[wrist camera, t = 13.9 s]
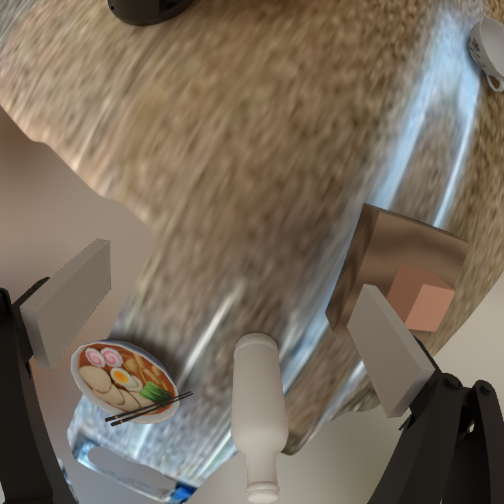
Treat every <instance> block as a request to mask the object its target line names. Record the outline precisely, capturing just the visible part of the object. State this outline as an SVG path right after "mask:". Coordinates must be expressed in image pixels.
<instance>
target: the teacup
mask: <svg viewBox="0 0 504 504" xmlns="http://www.w3.org/2000/svg"><path fill="white" fill-rule="evenodd" d="M468 49H469V52H470V54H471V56H472V58H473V60H474V62H475V63H476V64H477V65H478V66H479V67H480V68H481V69H482V70H484V72H485V73H486V76H487V80H488V83H489V86H490V87H491V88H492V90H493V91H495V92H502V91H503V90H504V81H503V80H504V25H503V24H502V23H501V22H499V21H497V20H495V19H493V18H490V17H487V18H483V19H481V20H480V21H479V22H477V23H476V24H475V25H474V27H473V28H472V30H471V32H470V35H469V45H468ZM489 76H493V77H495V79H497V80H498V81H499V83H500V86H499V88H498V89H495V87H494V86H493V84H492V82H491V79H490V77H489Z"/></svg>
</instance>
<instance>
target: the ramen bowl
mask: <svg viewBox="0 0 504 504" xmlns="http://www.w3.org/2000/svg"><path fill="white" fill-rule="evenodd" d="M71 373H72V375H73V377H74V379H75V382H76V384H77V386H78V387H79V388H80V390H81V391H82V392H83V393H84V394H85V395H86V397H87V398H88V399H89V400H90V401H91V402H93V403H94V404H95V405H97V406H98V407H100V408H101V409H102V410H104V411H105V412H107V413H109V414H111V415H114V416H112V417H108V418H105V421H106V422H108V421H111V420H114V419H117V418H120V419H122V420H119V421H116V422H113V423H111V426H115V425H118V424H121V423H123V422H126V421H130V422H136V423H142V424H150V423H161V422H163V421H165V420H167V419H169V418H170V417H172V416H174V415H175V413H176V411H177V409H178V407H179V405H180V401H179V400H181V399H183V398H185V397H188V396H190V395H192V394H193V393H192V394H189V395H187V396H184V397H182V398H179V397H180V396H183V395H185V394H188V393H190V392H191V391H190V392H188V393H185V394H182V395H179V396H178V391H177V387H176V385H175V382H174V381H173V379H172V377H171V376H170V375H169V373H168V372H167V370H166V369H165V367H164V366H163V365H162V363H161V362H160V361H159V360H158V359H156V358H155V357H154V356H152V355H151V354H150V353H149V352H147V351H146V350H145V349H143V348H140V347H138V346H136V345H133V344H131V343H129V342H124V341H116V340H108V339H105V340H99V341H96V342H92V343H88V344H84V345H81V346H80V347H79V348H78V349H77V350H76V352H75V353H74V354H73V355H72V357H71Z"/></svg>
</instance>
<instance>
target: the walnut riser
mask: <svg viewBox="0 0 504 504" xmlns="http://www.w3.org/2000/svg"><path fill="white" fill-rule="evenodd" d="M469 247H470V244H469V243H468V242H466V241H464V240H462V239H461V238H459V237H457V236H455V235H454V234H452V233H449V232H447V231H444V230H442V229H439V228H436V227H434V226H431V225H428V224H425V223H423V222H420V221H417V220H414V219H411V218H409V217H406V216H403V215H400V214H397V213H394V212H391V211H388V210H385V209H382V208H379V207H376V206H372V205H369V204H366V203H364V204H363V207H362V211H361V214H360V217H359V220H358V223H357V226H356V229H355V233H354V236H353V239H352V241H351V244H350V247H349V250H348V253H347V256H346V259H345V262H344V264H343V267H342V270H341V273H340V275H339V278H338V281H337V283H336V286H335V289H334V291H333V294H332V297H331V299H330V302H329V304H328V307H327V309H326V312H325V314H326V316H327V319H328V321H329V323H330V326H331V328H332V331H333V333H339V334H347V335H350V332H349V330H348V328H347V324H348V322H349V320H350V317H351V315H352V312H353V310H354V308H355V305H356V303H357V300H358V297H359V295H360V292H361V290H362V287H363V284H368V285H374V286H376V287H377V288H378V289H379V291H380V292H381V293H382V295H383V296H384V297H385V299H386V298H387V295H388V293H389V291H390V288H391V286H392V284H393V281H394V279H395V276H396V274H397V272H398V269H399V267H400V264H405V265H409V266H413V267H417V268H421V269H425V270H428V271H432V272H434V273H435V274H436V275H437V276H439V277H440V278H441V279H442V280H443V281H445V282H446V283H447V284H448V285H449V286H450V287H452V288H453V286H454V284H455V281H456V279H457V277H458V274H459V272H460V270H461V267H462V265H463V262H464V260H465V257H466V255H467V252H468V249H469ZM408 330H409V331H410V333H411V334H412V335H414V336H415V337H416V338H418V339H419V340H420V341H421V342H425V341H426V339H427V338H428V336H429V334H430V332H431V331H423V330H414V329H408Z"/></svg>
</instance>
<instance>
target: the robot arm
mask: <svg viewBox="0 0 504 504" xmlns="http://www.w3.org/2000/svg"><path fill="white" fill-rule="evenodd" d="M193 1H194V0H108V5H109V8H110V9H111V11H112V12H113V14H114V15H116V16H117V17H118V18H119V19H120V20H122V21H123V22H125V23H128V24H132V25H151V24H156V23H160V22H163V21H165V20H168V19H170V18H172V17H174V16H176V15H178V14H179V13H181V12H182V11H183V10H185V9H186V8H187V7H188V6H189V5H190V4H191V3H192V2H193ZM110 289H111V275H110V241H109V240H103V239H98V238H97V239H96V240H95V241H93V242H92V243H91V244H90V245H88V247H86V248H85V249H84V250H82V251H81V252H80V253H79V254H77V255H76V256H75V257H74V258H73V259H72V260H70V261H69V262H68V263H67V264H66V265H65V266H63V267H62V268H61V269H60V270H59V271H58V272H57V273H55V274H54V275H53V276H52V277H51V278H50V277H46V278H44V279H41V280H39V281H38V282H36V283H35V284H34V285H33V286H32V287H31V288H30V289H29V290H28V291H26V293H24V294H23V295H22V296H21V297H20V298H19V299H18V300H17V301H16V302H14V303H13V304H12V305H11V300H10V297H9V293H8V291H7V290H6V289H4V288H0V482H1V485H2V489H3V492H4V496H5V502H4V503H3V504H77V503H76V501H75V499H74V497H73V495H72V493H71V491H70V489H69V487H68V485H67V482H66V480H65V478H64V475H63V473H62V471H61V468H60V466H59V463H58V461H57V458H56V456H55V453H54V451H53V448H52V445H51V442H50V439H49V436H48V433H47V430H46V427H45V423H44V420H43V417H42V413H41V409H40V406H39V402H38V398H37V394H36V390H35V385H34V380H33V376H32V371H31V366H30V363H29V359H30V358H31V357H32V355H34V358H35V361H36V364H37V365H38V366H40V367H42V368H44V369H47V370H49V371H53V369H54V368H55V366H56V365H57V363H58V362H59V360H60V359H61V357H62V356H63V354H64V353H65V351H66V349H67V348H68V347H69V345H70V344H71V342H72V341H73V339H74V338H75V337H76V335H77V334H78V332H79V331H80V329H81V328H82V326H83V325H84V324H85V322H86V321H87V320H88V318H89V317H90V316H91V314H92V313H93V312H94V310H95V309H96V307H97V306H98V305H99V303H100V302H101V301H102V299H103V298H104V297H105V295H106V294H107V293H108V291H109V290H110ZM347 328H348V330H349V332H350V335H351V337H352V339H353V341H354V343H355V345H356V348H357V350H358V352H359V354H360V356H361V359H362V361H363V363H364V365H365V367H366V370H367V372H368V374H369V376H370V379H371V381H372V383H373V386H374V388H375V390H376V393H377V395H378V397H379V400H380V402H381V404H382V407H383V409H384V411H385V414H386V416H387V418H392V417H401V416H402V415H403V414H404V413H405V411H406V410H407V409H408V407H409V408H410V410H411V412H412V414H411V415H410V416H409V417H408V418H407V420H406V421H405V422H404V423H403V425H402V426H401V427H400V428H399V430H401V429H402V428H403V427H404V429H403V431H402V434H401V436H400V439H399V441H398V444H397V446H396V448H395V450H394V453H393V455H392V457H391V460H390V462H389V463H388V466H387V468H386V470H385V472H384V474H383V476H382V478H381V480H380V482H379V484H378V485H377V487H376V489H375V491H374V493H373V495H372V496H371V498H370V500H369V502H368V503H367V504H440V502H441V499H442V504H504V422H503V417H502V413H501V409H500V406H499V402H498V399H497V395H496V392H495V390H494V388H493V387H492V385H491V384H490V383H488V382H486V381H484V380H478V381H476V383H475V384H474V385H473V387H472V388H467V387H463V385H462V383H461V382H460V380H459V379H458V378H457V377H455V376H454V375H452V374H449V373H442V372H441V370H440V369H439V367H438V366H437V364H436V363H435V361H434V360H433V358H432V357H431V355H430V354H429V352H428V351H427V350H426V348H425V347H424V345H423V344H422V342H421V341H420V340H419V339H418V338H416V337H415V336H414V335H412V334H411V333H410V331H409V330H408V329H407V327H406V326H405V324H404V323H403V322H402V320H401V319H400V317H399V316H398V315H397V313H396V312H395V311H394V309H393V308H392V307H391V305H390V304H389V303H388V301H387V300H386V299H385V297H384V296H383V295H382V293H381V292H380V291H379V289H378V288H377V287H376V286H374V285H368V284H363V287H362V290H361V292H360V295H359V297H358V300H357V303H356V305H355V308H354V310H353V312H352V315H351V317H350V320H349V322H348V324H347ZM473 424H474V428H473V431H472V432H470V429H469V428H470V427H471V426H472V425H473Z"/></svg>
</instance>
